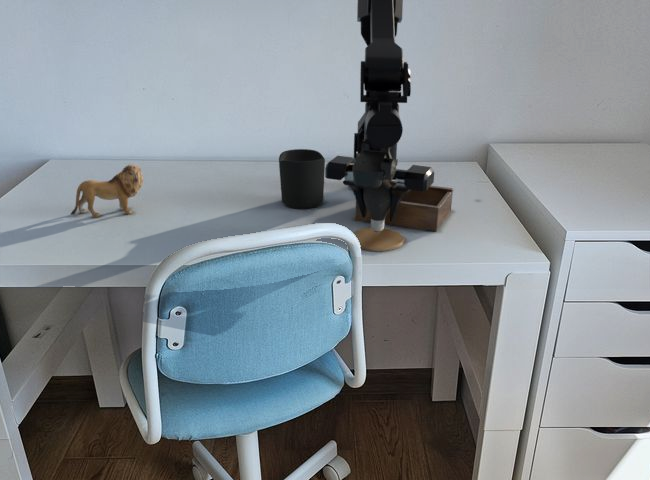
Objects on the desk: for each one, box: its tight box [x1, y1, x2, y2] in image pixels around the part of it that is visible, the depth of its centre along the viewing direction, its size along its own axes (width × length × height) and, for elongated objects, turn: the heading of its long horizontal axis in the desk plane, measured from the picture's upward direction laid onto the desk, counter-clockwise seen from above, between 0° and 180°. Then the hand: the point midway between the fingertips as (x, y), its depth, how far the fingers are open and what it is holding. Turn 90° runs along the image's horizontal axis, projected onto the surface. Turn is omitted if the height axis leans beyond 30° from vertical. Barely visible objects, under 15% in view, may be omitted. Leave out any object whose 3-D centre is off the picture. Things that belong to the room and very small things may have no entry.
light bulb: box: [363, 180, 393, 233], centre depth 127 cm, size 6×6×10 cm
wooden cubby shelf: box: [355, 180, 454, 232], centre depth 141 cm, size 17×13×5 cm
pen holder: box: [278, 148, 326, 210], centre depth 145 cm, size 9×9×10 cm
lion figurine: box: [70, 164, 144, 218], centre depth 137 cm, size 15×5×9 cm, turn 116°
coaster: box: [352, 227, 405, 252], centre depth 130 cm, size 10×10×1 cm
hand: (377, 218), depth 128 cm, fingers closed on light bulb, 5 cm apart
